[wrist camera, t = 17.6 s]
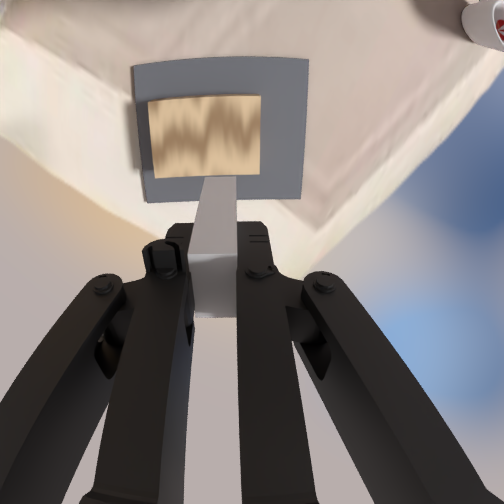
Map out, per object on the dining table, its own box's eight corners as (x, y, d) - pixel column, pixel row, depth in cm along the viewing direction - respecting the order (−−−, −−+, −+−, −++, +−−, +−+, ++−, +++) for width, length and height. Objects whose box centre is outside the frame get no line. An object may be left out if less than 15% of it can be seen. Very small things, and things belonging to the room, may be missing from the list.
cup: (449, -22, 21) (485, -29, 14) (487, -5, 21) (522, -6, 14) (456, 42, 27) (493, 45, 20) (492, 55, 27) (528, 62, 20)
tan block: (258, 93, 32) (154, 99, 31) (260, 96, 29) (147, 102, 29) (257, 166, 37) (160, 169, 36) (259, 174, 34) (155, 178, 34)
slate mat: (134, 65, 29) (133, 65, 28) (307, 59, 30) (308, 59, 29) (148, 201, 39) (147, 203, 38) (299, 197, 40) (300, 199, 39)
